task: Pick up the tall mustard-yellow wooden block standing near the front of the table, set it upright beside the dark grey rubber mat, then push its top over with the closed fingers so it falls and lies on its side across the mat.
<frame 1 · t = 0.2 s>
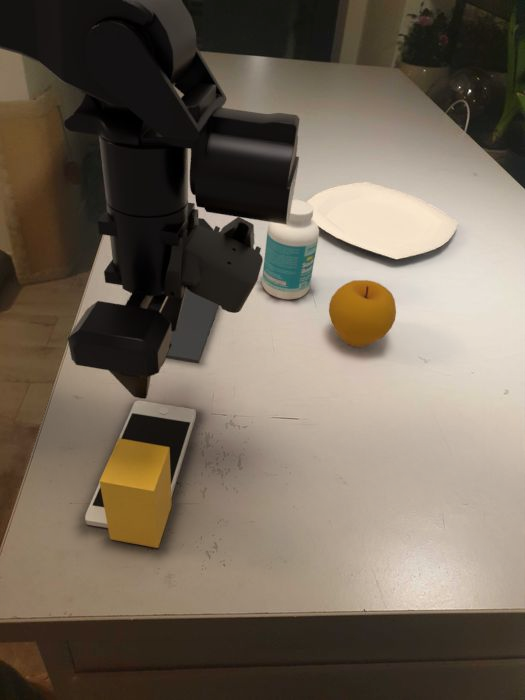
hand: (156, 360, 48), 13 cm above the table, tool pointing down, fingers open, 9 cm apart
apple: (354, 340, 74), on the table
pill bottle: (285, 288, 82), on the table
block: (141, 521, 49), on the table, touching smartphone
plate: (376, 225, 101), on the table
smartphone: (146, 464, 55), on the table, touching block
mat: (169, 318, 73), on the table
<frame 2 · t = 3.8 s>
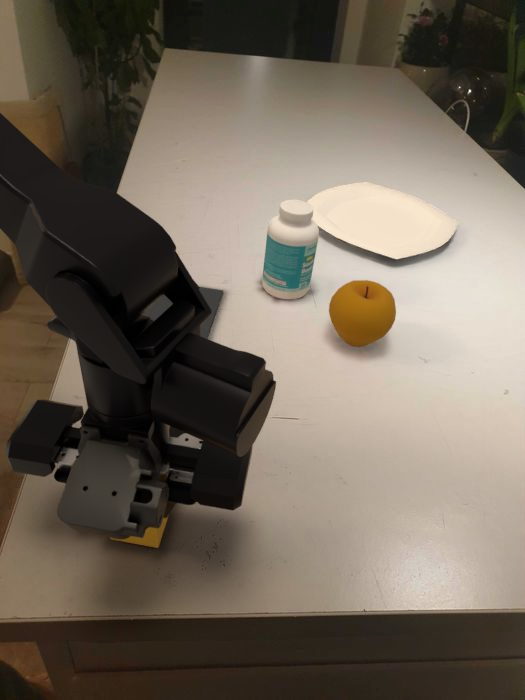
hand: (140, 508, 48), 3 cm above the table, tool pointing down, fingers closed on block, 4 cm apart
block: (141, 521, 49), on the table, touching gripper, smartphone
everything else where it was.
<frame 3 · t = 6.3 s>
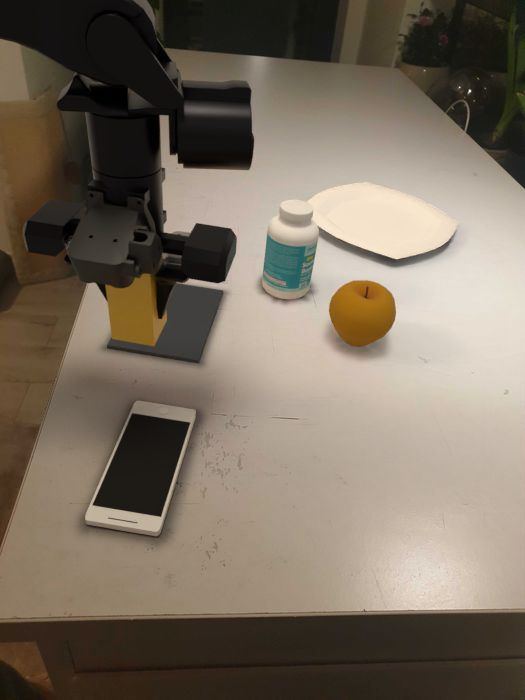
hand: (138, 312, 54), 12 cm above the table, tool pointing down, fingers closed on block, 4 cm apart
block: (140, 329, 56), point 10 cm above the table, touching gripper
smartphone: (146, 464, 55), on the table
everything else where it was.
when the fingers open (2 cm above the table, at t = 9.2 s): block stays where it is, on the table.
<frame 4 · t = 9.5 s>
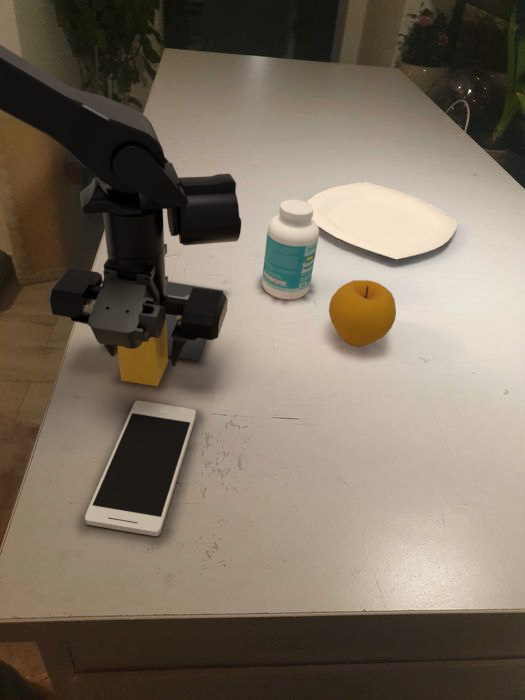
hand: (144, 359, 64), 2 cm above the table, tool pointing down, fingers open, 7 cm apart
block: (145, 371, 65), on the table
everything else where it was.
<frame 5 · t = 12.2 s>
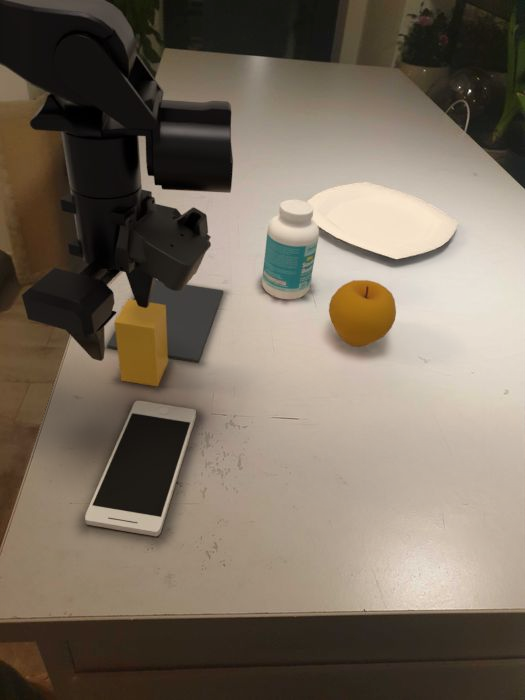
hand: (122, 331, 53), 11 cm above the table, tool pointing down, fingers open, 9 cm apart
nothing on the table moved.
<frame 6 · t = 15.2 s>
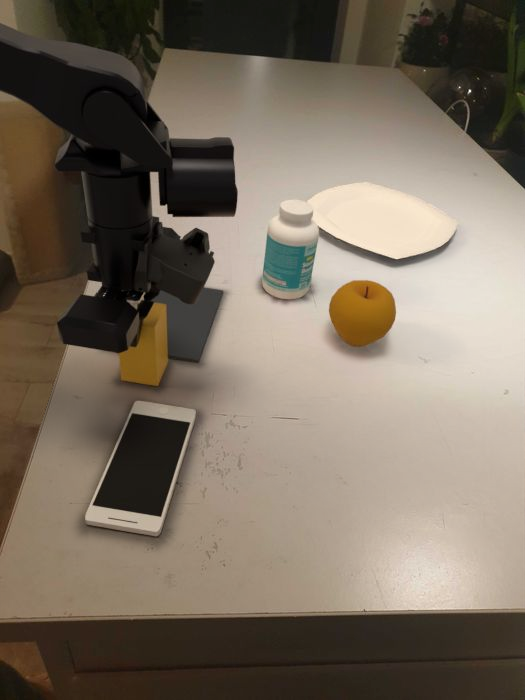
hand: (132, 344, 58), 7 cm above the table, tool pointing down, fingers closed
block: (145, 371, 65), on the table, touching gripper
everything else where it was.
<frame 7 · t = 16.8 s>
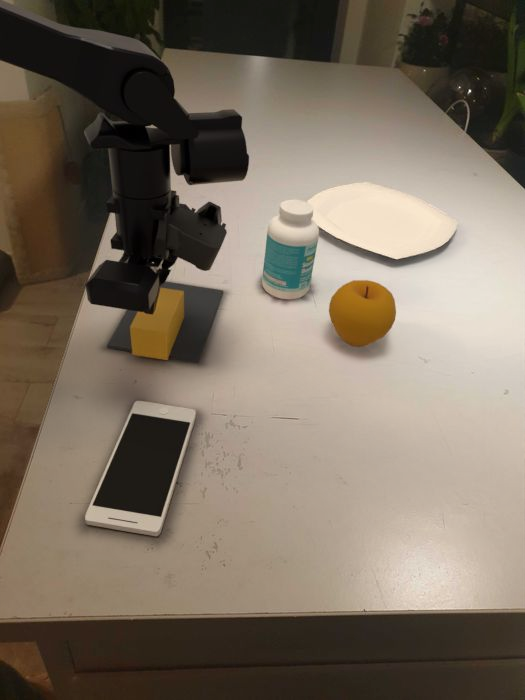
hand: (149, 312, 62), 7 cm above the table, tool pointing down, fingers closed
block: (148, 344, 65), point 3 cm above the table, tilted 90°, touching mat
everything else where it was.
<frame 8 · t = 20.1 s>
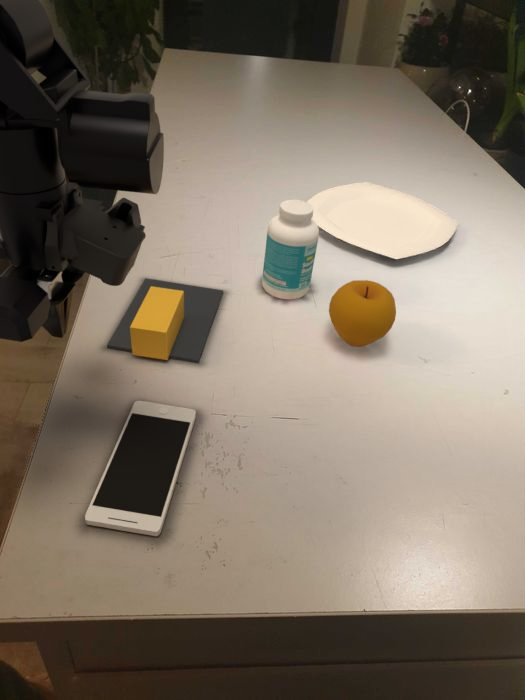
hand: (59, 335, 51), 12 cm above the table, tool pointing down, fingers closed
nothing on the table moved.
at the end: block tilted 90°; block touching mat; block inside the target area on the mat (8.0 cm from its centre), point 2.7 cm above the mat's base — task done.
